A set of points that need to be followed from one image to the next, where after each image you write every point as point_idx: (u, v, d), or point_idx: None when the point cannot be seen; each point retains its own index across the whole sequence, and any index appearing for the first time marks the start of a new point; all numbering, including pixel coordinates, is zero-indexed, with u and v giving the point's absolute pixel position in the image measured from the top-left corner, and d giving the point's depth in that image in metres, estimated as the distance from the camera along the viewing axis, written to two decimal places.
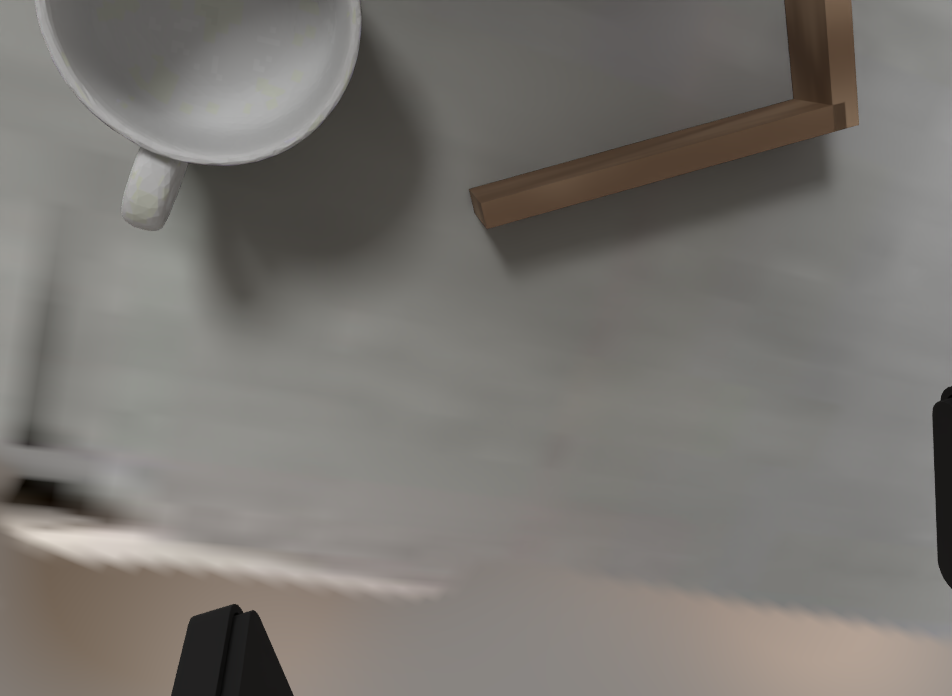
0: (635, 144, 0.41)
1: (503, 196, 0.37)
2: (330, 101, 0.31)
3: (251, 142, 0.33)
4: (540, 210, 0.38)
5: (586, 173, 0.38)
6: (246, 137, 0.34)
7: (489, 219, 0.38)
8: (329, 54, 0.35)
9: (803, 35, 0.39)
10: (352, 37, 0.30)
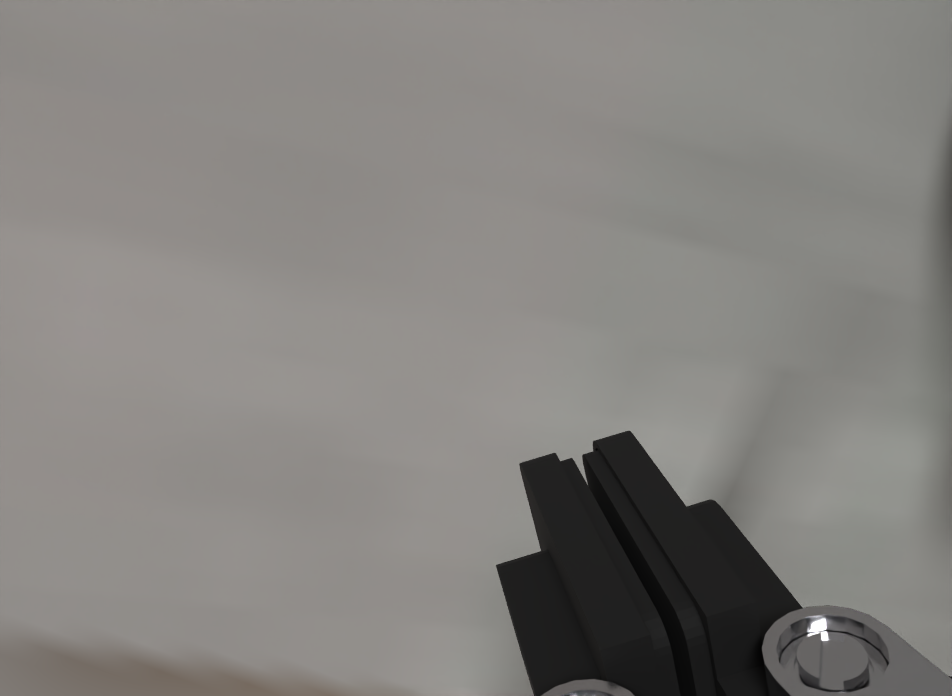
0: None
1: None
2: None
3: None
4: None
5: None
6: None
7: None
8: None
9: None
10: None
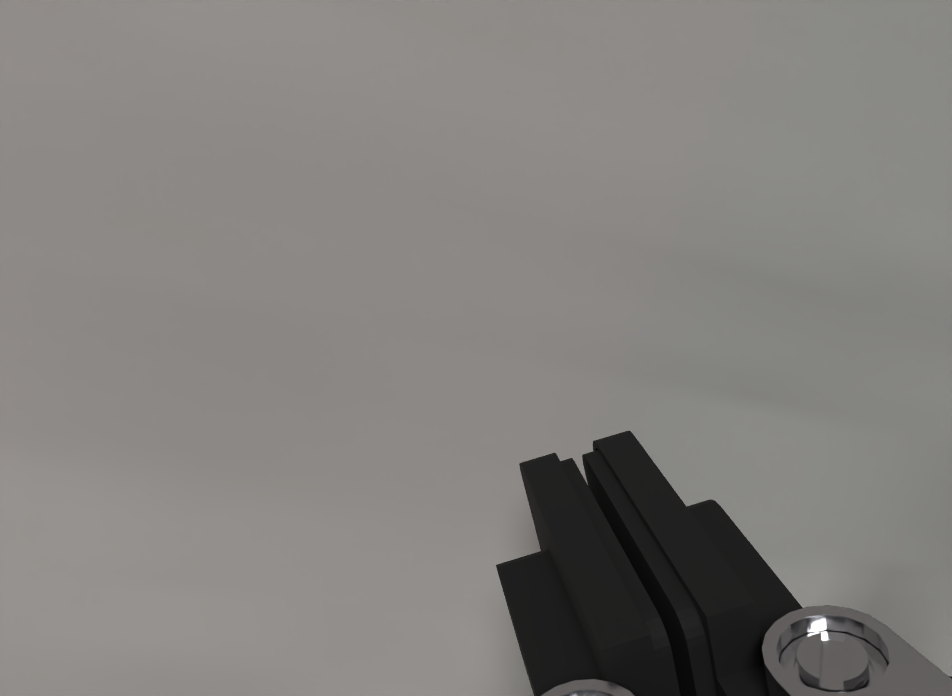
0: None
1: None
2: None
3: None
4: None
5: None
6: None
7: None
8: None
9: None
10: None
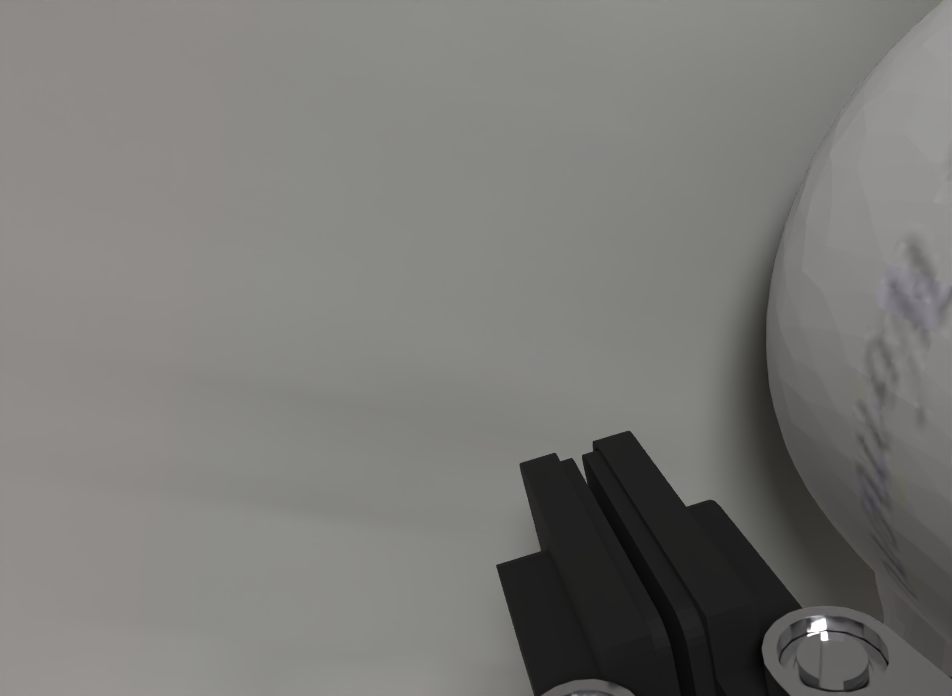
0: None
1: None
2: None
3: None
4: None
5: None
6: None
7: None
8: None
9: None
10: None
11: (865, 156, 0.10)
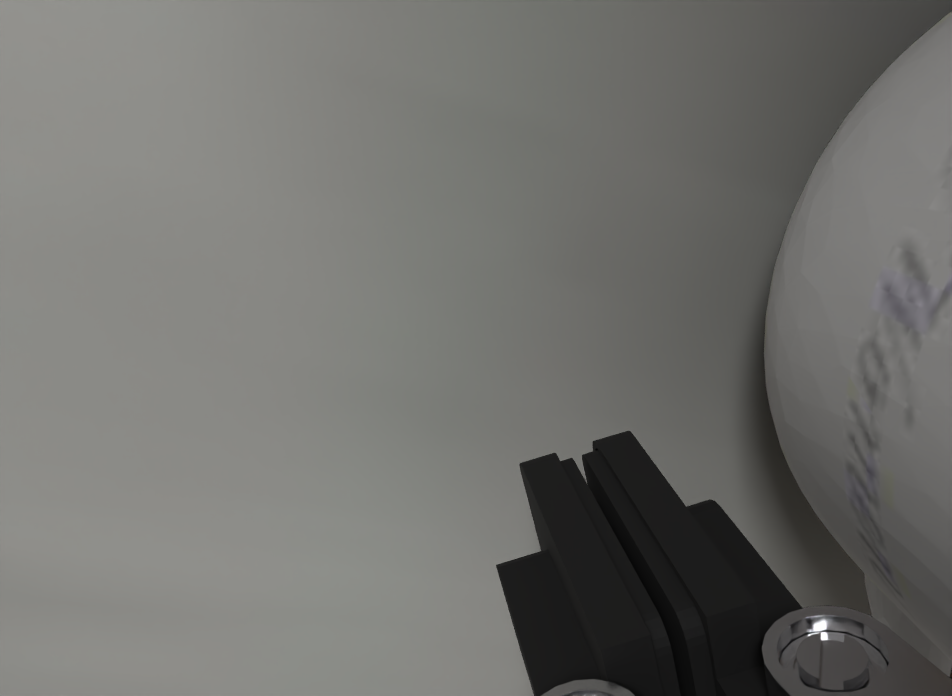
0: None
1: None
2: None
3: None
4: None
5: None
6: None
7: None
8: None
9: None
10: None
11: (866, 162, 0.10)
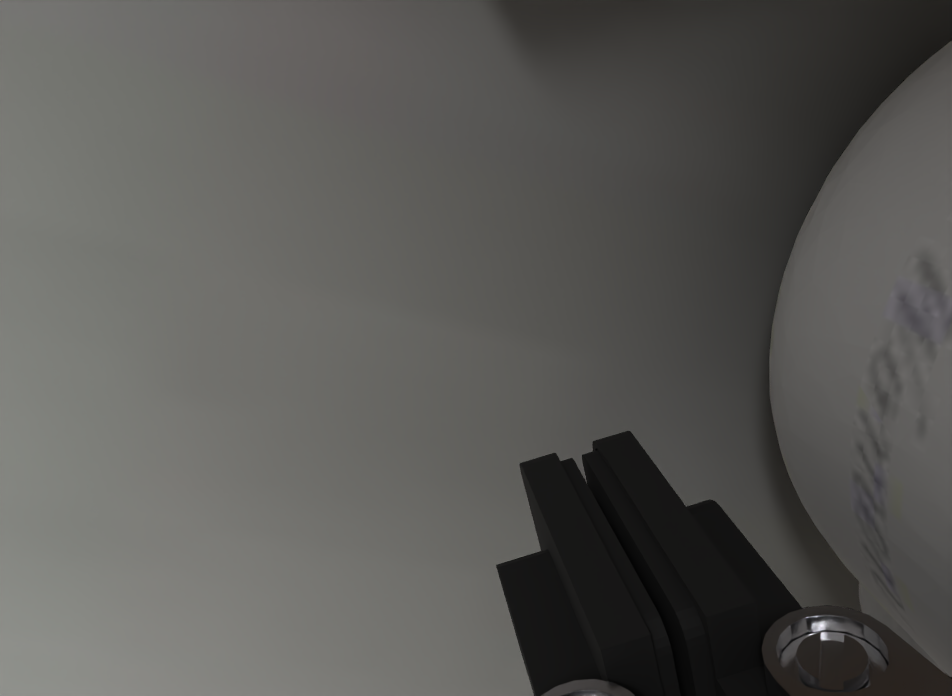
0: None
1: None
2: None
3: None
4: None
5: None
6: None
7: None
8: None
9: None
10: None
11: (882, 173, 0.10)
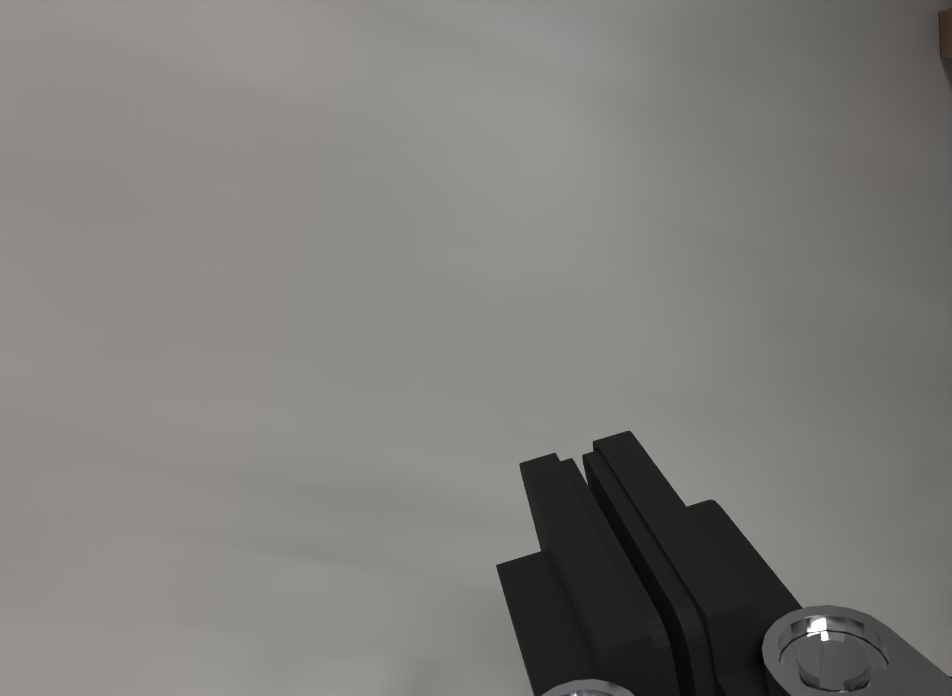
0: None
1: None
2: None
3: None
4: None
5: None
6: None
7: None
8: None
9: None
10: None
11: None
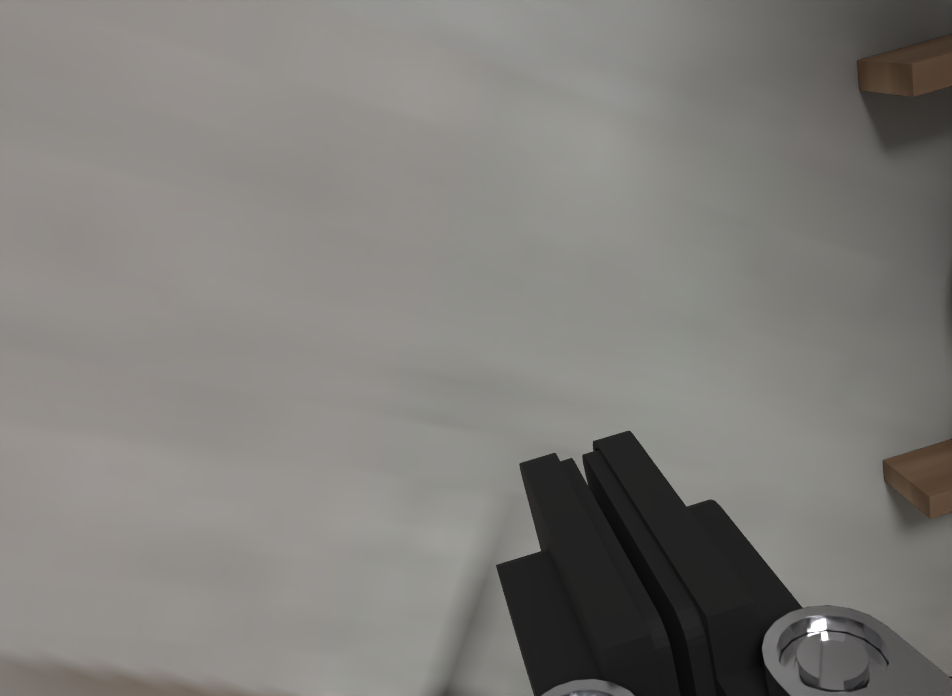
0: None
1: (949, 489, 0.38)
2: None
3: None
4: None
5: None
6: None
7: (934, 510, 0.39)
8: None
9: None
10: None
11: None
